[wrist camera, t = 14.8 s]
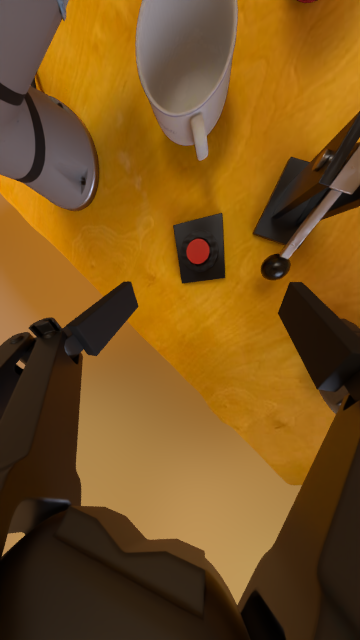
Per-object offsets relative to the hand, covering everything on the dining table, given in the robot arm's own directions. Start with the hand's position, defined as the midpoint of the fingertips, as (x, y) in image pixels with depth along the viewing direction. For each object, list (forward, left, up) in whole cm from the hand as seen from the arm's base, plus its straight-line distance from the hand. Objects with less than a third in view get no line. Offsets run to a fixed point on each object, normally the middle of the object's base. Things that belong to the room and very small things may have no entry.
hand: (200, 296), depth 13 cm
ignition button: (-4, -2, -17) cm, 18 cm away
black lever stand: (-8, +14, -20) cm, 26 cm away
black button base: (-4, -2, -20) cm, 21 cm away
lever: (-5, +12, -12) cm, 18 cm away
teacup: (-23, -1, -20) cm, 31 cm away
